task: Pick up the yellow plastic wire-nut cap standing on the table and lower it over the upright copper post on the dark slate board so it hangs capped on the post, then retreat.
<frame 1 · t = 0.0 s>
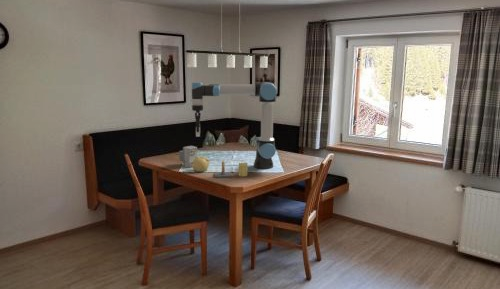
hand: (198, 134, 272), 28 cm above the table, fingers open, 13 cm apart
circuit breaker: (187, 165, 298), on the table
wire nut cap: (243, 175, 273), on the table
pigtail board: (223, 175, 271), on the table
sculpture: (200, 171, 283), on the table
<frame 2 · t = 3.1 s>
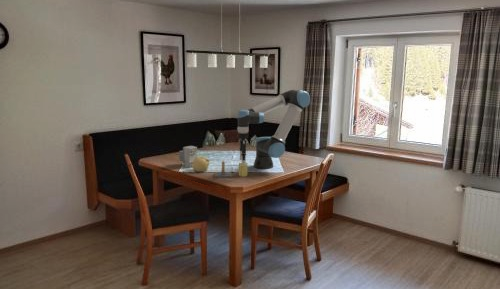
hand: (242, 162, 271), 10 cm above the table, fingers open, 13 cm apart
nothing on the table moved.
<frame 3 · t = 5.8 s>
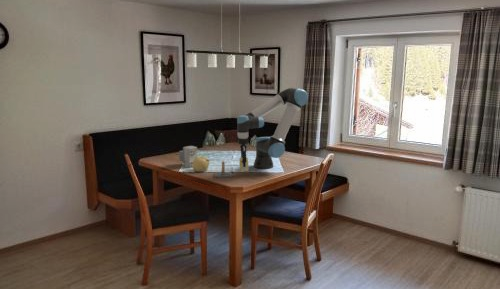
hand: (243, 169, 272), 4 cm above the table, fingers closed on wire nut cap, 6 cm apart
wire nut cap: (244, 170, 273), point 4 cm above the table, touching gripper
everything else where it was.
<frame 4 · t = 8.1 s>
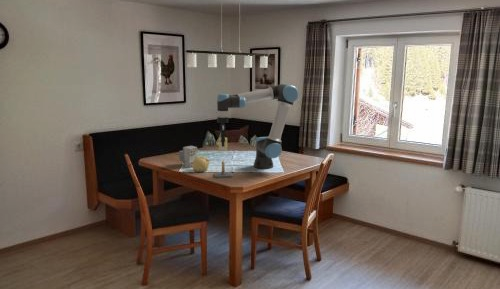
hand: (222, 149, 267), 19 cm above the table, fingers closed on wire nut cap, 6 cm apart
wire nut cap: (222, 150, 267), point 19 cm above the table, touching gripper
everything else where it was.
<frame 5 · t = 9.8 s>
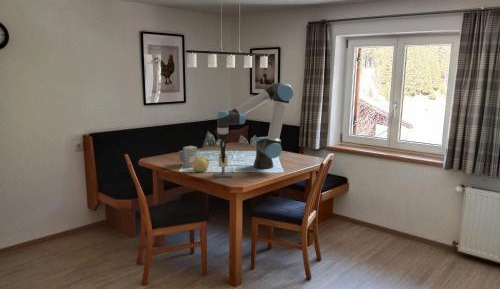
hand: (223, 165, 270), 7 cm above the table, fingers closed on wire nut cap, 6 cm apart
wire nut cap: (223, 166, 270), point 7 cm above the table, touching gripper
everything else where it was.
when the fingers open (6 cm above the table, at t = 10.8 s): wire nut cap drops 2 cm, resting on pigtail board.
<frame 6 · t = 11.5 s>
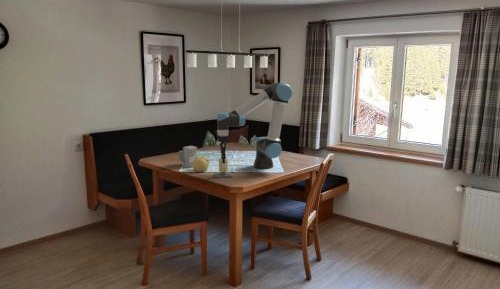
hand: (223, 165, 270), 8 cm above the table, fingers open, 13 cm apart
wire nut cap: (223, 170, 271), point 4 cm above the table, touching pigtail board
everything else where it was.
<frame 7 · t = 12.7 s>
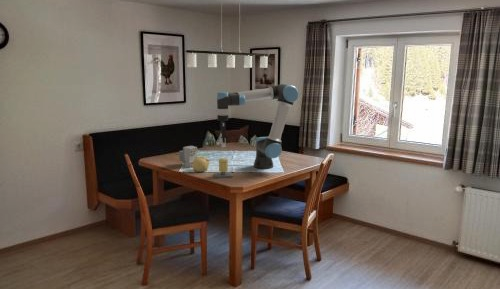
hand: (223, 145, 267), 22 cm above the table, fingers open, 13 cm apart
nothing on the table moved.
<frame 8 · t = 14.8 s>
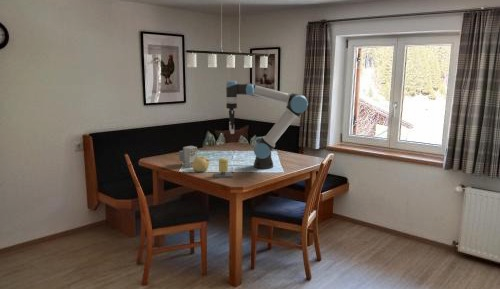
hand: (231, 132, 280), 29 cm above the table, fingers open, 13 cm apart
nothing on the table moved.
at the end: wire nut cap 0.2 cm off-centre on the pigtail board, point 3.5 cm above the pigtail board's base; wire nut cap tilted 1°; the gripper is holding nothing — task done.
